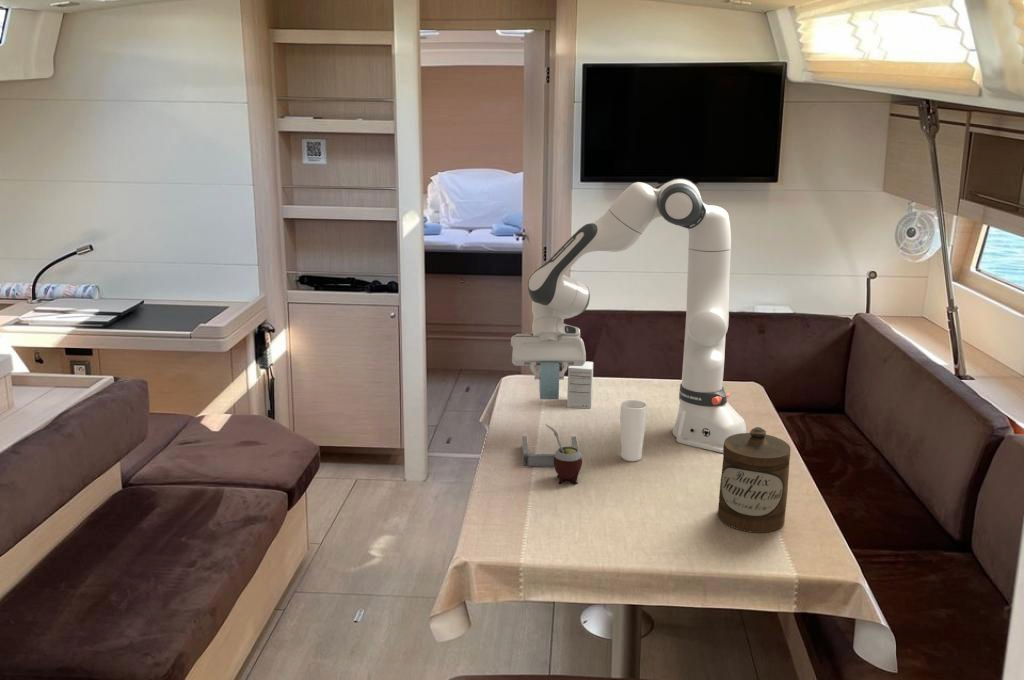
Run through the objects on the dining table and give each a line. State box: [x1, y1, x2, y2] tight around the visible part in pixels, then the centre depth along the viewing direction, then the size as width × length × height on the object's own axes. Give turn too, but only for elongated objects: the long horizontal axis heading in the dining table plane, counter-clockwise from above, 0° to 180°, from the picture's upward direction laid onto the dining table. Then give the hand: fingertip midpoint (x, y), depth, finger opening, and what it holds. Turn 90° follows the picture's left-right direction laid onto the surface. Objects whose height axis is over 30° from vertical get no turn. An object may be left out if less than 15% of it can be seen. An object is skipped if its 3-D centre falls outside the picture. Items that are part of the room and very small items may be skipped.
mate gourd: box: [545, 423, 583, 485], centre depth 234 cm, size 8×8×15 cm
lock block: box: [538, 361, 561, 400], centre depth 259 cm, size 8×5×9 cm, turn 1°
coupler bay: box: [521, 435, 580, 468], centre depth 250 cm, size 13×14×3 cm
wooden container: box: [717, 426, 791, 533], centre depth 215 cm, size 15×15×22 cm
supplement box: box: [566, 361, 594, 409], centre depth 288 cm, size 7×7×13 cm
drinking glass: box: [619, 399, 648, 462], centre depth 248 cm, size 7×7×15 cm
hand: (549, 378), depth 258 cm, fingers closed on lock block, 5 cm apart
